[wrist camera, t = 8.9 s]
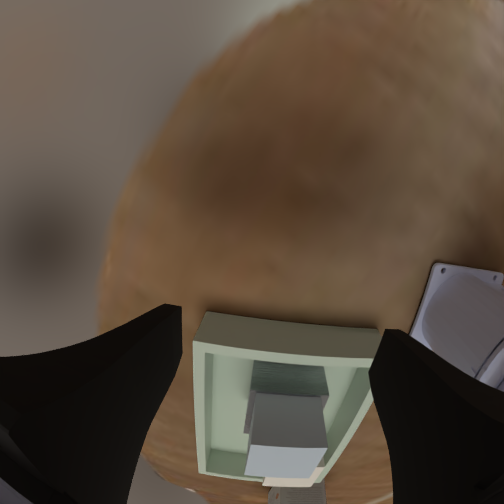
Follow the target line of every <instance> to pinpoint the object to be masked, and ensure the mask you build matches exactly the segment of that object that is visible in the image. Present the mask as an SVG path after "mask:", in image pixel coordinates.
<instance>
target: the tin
mask: <svg viewBox="0 0 504 504" xmlns="http://www.w3.org/2000/svg"><path fill="white" fill-rule="evenodd" d="M256 393H265V394H276V395H288V396H303V397H321V401H322V408H323V410H324V407H325V405H326V403H327V400H328V398H329V391H328V385H327V380H326V375H325V370H324V366H314V365H300V364H289V363H278V362H269V361H260V360H254V362H253V368H252V375H251V382H250V388H249V395H248V402H247V409H246V417H245V424H244V431H243V433H244V434H249V431H250V425H251V419H252V414H253V408H254V402H255V397H256Z"/></svg>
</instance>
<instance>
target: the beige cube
mask: <svg viewBox="0 0 504 504" xmlns="http://www.w3.org/2000/svg"><path fill="white" fill-rule="evenodd" d="M324 468H325V464H324V455H323V457H322V459H321V460H320V462H319V464H318V465H317V467H316V468H315V470H314V472H313V473H312V475H311V476H310V478H274V477H263V483H262V486H276V487H311V486H312V485H313V483H314V482H315V480H316V479H317V478H318V476H319V475H320V473H321V472H322V471H323V469H324Z"/></svg>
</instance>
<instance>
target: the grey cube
mask: <svg viewBox="0 0 504 504" xmlns="http://www.w3.org/2000/svg"><path fill="white" fill-rule="evenodd" d="M327 449H328V444H327V436H326V429H325V422H324V415H323V408H322V401H321V397H303V396H288V395H276V394H265V393H256V397H255V402H254V408H253V414H252V419H251V425H250V431H249V440H248V448H247V456H246V464H245V472H244V475H249V476H260V477H274V478H310V476H311V475H312V473H313V472H314V470H315V468H316V467H317V465H318V464H319V462H320V460H321V459H322V457H323V455H324V454H325V452H326V450H327Z"/></svg>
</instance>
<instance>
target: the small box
mask: <svg viewBox="0 0 504 504" xmlns="http://www.w3.org/2000/svg"><path fill="white" fill-rule="evenodd" d="M268 504H327V503H326V491H325V480H324V479H323V480H322V481H321V482H320V483H313V485H312V486H311V487H276V486H273V487H272V488H271V490H270V491H269V493H268Z"/></svg>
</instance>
